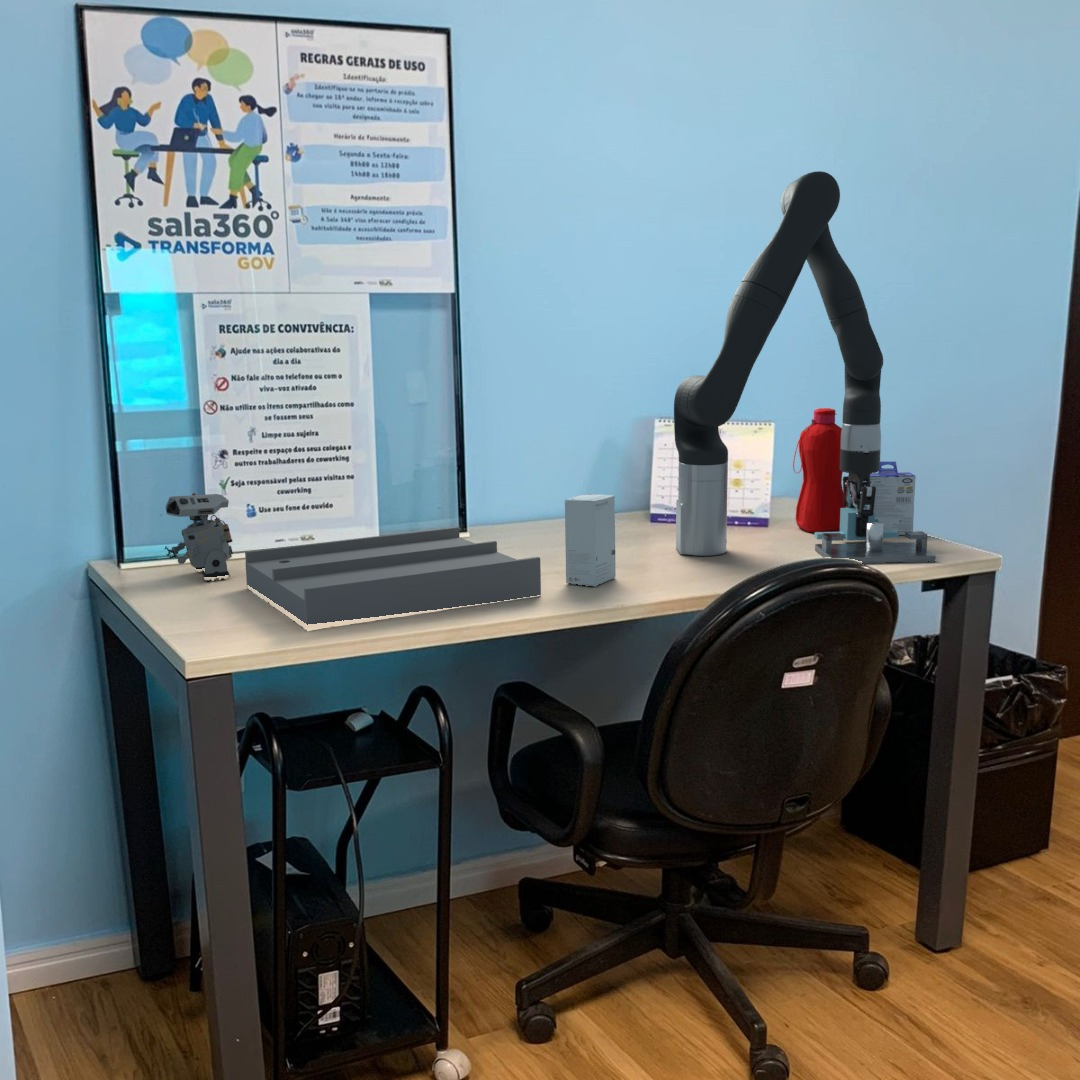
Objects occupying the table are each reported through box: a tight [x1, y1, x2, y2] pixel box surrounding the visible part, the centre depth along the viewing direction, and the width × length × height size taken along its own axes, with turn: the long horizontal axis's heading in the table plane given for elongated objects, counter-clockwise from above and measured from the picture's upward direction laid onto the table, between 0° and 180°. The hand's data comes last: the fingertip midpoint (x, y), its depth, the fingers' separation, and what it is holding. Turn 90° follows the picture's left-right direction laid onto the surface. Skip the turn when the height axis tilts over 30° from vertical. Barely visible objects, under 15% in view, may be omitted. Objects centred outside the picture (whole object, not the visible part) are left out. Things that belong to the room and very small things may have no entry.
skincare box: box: [564, 493, 616, 588], centre depth 211 cm, size 8×6×15 cm
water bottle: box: [792, 407, 846, 534], centre depth 252 cm, size 9×11×25 cm
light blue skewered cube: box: [814, 507, 900, 541], centre depth 239 cm, size 16×5×5 cm, turn 92°
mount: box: [814, 522, 937, 564], centre depth 229 cm, size 19×12×6 cm, turn 92°
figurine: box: [164, 492, 234, 577], centre depth 218 cm, size 9×12×15 cm
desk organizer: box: [244, 526, 542, 625], centre depth 206 cm, size 32×40×7 cm
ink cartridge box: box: [864, 461, 916, 536], centre depth 249 cm, size 10×6×14 cm, turn 89°
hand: (857, 533), depth 240 cm, fingers closed on light blue skewered cube, 5 cm apart
